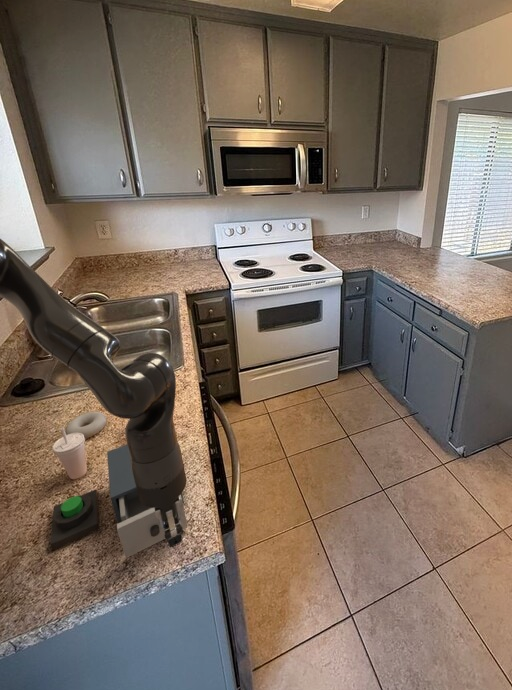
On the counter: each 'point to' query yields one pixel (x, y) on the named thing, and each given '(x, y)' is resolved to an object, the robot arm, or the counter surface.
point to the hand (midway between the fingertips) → (175, 541)
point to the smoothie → (71, 453)
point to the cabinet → (120, 476)
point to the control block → (75, 521)
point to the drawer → (140, 524)
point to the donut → (91, 418)
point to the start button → (72, 506)
